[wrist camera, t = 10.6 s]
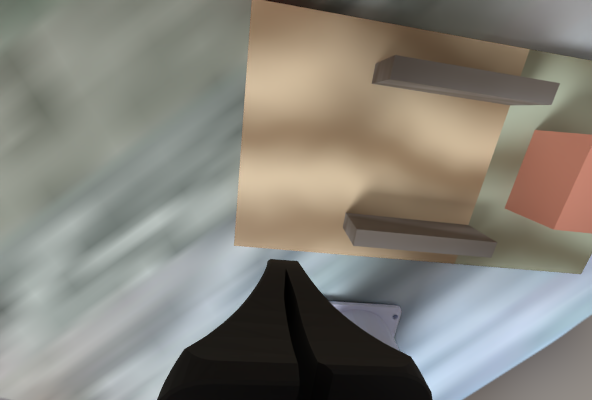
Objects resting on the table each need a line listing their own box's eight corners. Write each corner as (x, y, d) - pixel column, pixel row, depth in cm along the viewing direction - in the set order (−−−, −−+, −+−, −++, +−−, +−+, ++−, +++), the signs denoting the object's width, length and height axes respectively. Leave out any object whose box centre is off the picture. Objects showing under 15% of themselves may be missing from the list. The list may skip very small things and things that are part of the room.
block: (571, 215, 22) (632, 237, 18) (504, 208, 22) (553, 229, 18) (606, 140, 20) (682, 147, 17) (534, 129, 20) (596, 134, 16)
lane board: (569, 267, 25) (621, 296, 21) (235, 239, 22) (227, 267, 18) (663, 78, 20) (752, 72, 17) (253, 4, 17) (247, -26, 13)
